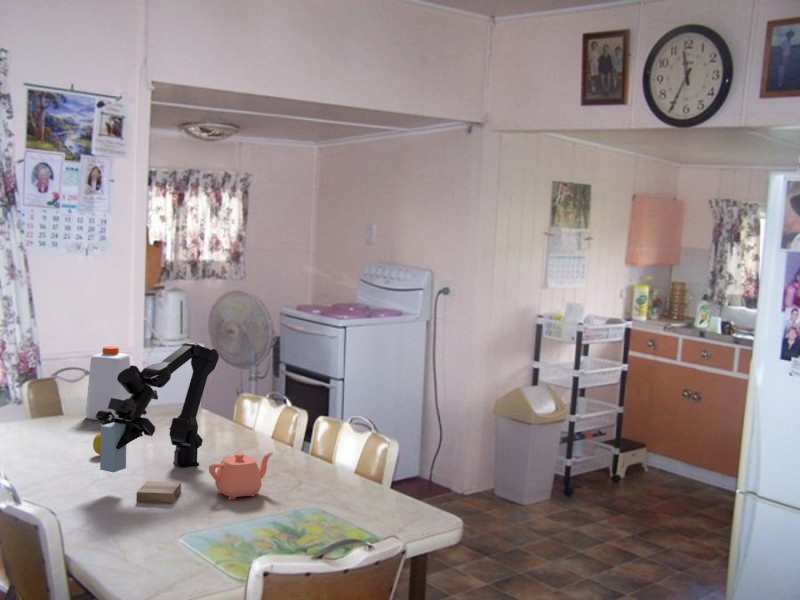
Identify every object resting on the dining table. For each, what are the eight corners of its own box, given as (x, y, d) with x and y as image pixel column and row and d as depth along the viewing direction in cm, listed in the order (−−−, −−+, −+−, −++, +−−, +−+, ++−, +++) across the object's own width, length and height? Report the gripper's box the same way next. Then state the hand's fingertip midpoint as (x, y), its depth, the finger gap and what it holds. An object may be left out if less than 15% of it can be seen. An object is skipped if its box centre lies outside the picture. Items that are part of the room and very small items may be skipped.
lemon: (104, 458, 272) (105, 435, 271) (89, 457, 273) (89, 433, 272) (113, 454, 277) (114, 431, 277) (98, 452, 279) (99, 429, 278)
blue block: (112, 465, 244) (113, 422, 243) (125, 468, 242) (126, 424, 240) (100, 469, 239) (101, 425, 238) (113, 472, 237) (114, 428, 236)
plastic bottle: (81, 419, 322) (82, 348, 319) (101, 411, 336) (102, 343, 334) (117, 423, 319) (118, 351, 317) (135, 414, 334) (137, 346, 332)
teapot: (280, 496, 245) (282, 456, 244) (215, 505, 234) (217, 463, 233) (263, 483, 256) (264, 444, 255) (200, 491, 245) (201, 451, 244)
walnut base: (146, 491, 243) (146, 481, 242) (180, 492, 243) (180, 482, 243) (136, 502, 233) (136, 492, 232) (172, 504, 233) (172, 493, 233)
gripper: (100, 383, 246) (71, 427, 237) (149, 391, 238) (121, 437, 229) (119, 404, 254) (91, 447, 245) (167, 413, 246) (140, 458, 237)
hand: (110, 447), depth 239 cm, fingers closed on blue block, 5 cm apart
